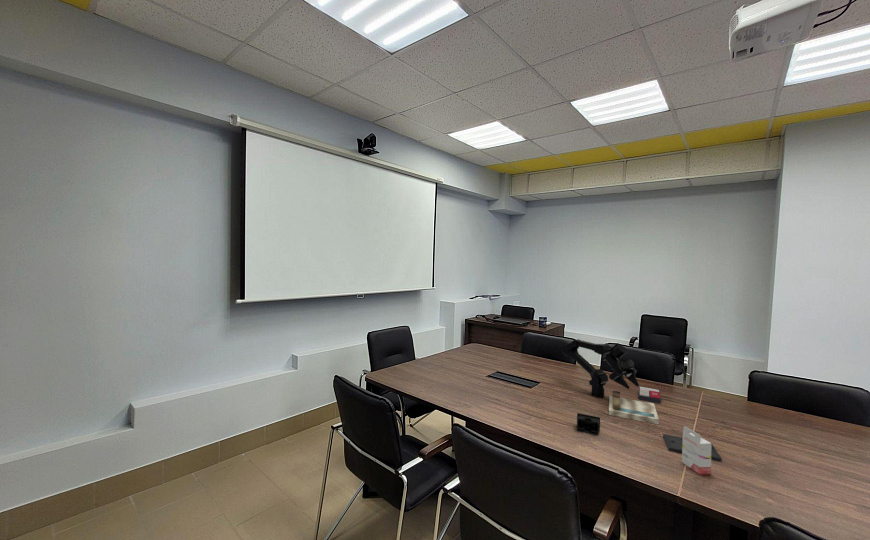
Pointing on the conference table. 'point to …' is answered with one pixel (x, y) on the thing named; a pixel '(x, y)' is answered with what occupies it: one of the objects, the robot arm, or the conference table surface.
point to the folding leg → (616, 400)
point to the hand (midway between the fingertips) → (633, 387)
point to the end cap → (588, 424)
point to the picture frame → (676, 446)
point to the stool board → (634, 410)
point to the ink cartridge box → (696, 452)
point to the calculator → (649, 395)
